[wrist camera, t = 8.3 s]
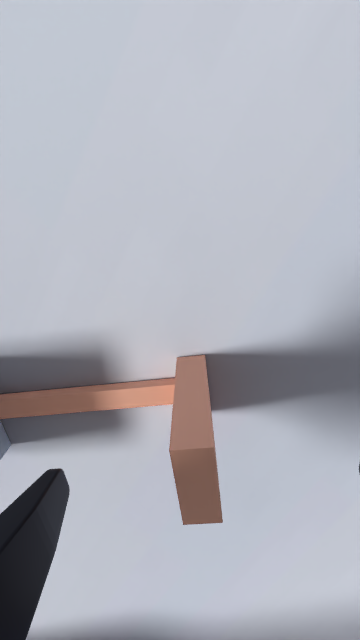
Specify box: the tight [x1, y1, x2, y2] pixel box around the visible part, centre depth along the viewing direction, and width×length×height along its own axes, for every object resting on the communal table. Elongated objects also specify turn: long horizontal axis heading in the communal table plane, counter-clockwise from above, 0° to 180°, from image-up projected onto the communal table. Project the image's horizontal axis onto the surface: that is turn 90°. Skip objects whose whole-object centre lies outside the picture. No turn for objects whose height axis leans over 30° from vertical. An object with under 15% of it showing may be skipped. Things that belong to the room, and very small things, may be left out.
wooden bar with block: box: [0, 355, 223, 525], centre depth 11 cm, size 5×15×5 cm, turn 98°
